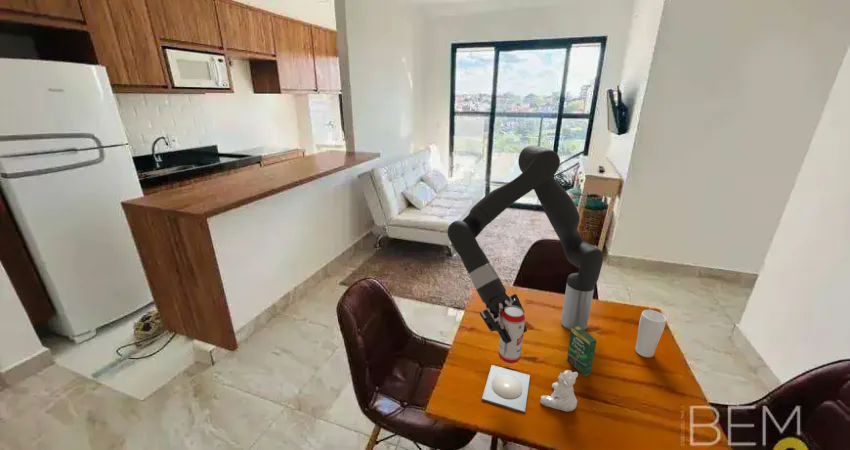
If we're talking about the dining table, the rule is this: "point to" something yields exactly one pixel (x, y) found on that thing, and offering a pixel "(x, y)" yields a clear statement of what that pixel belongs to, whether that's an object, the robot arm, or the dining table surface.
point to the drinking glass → (649, 332)
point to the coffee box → (581, 350)
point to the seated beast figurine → (562, 393)
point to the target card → (507, 388)
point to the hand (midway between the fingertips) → (516, 337)
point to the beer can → (512, 334)
